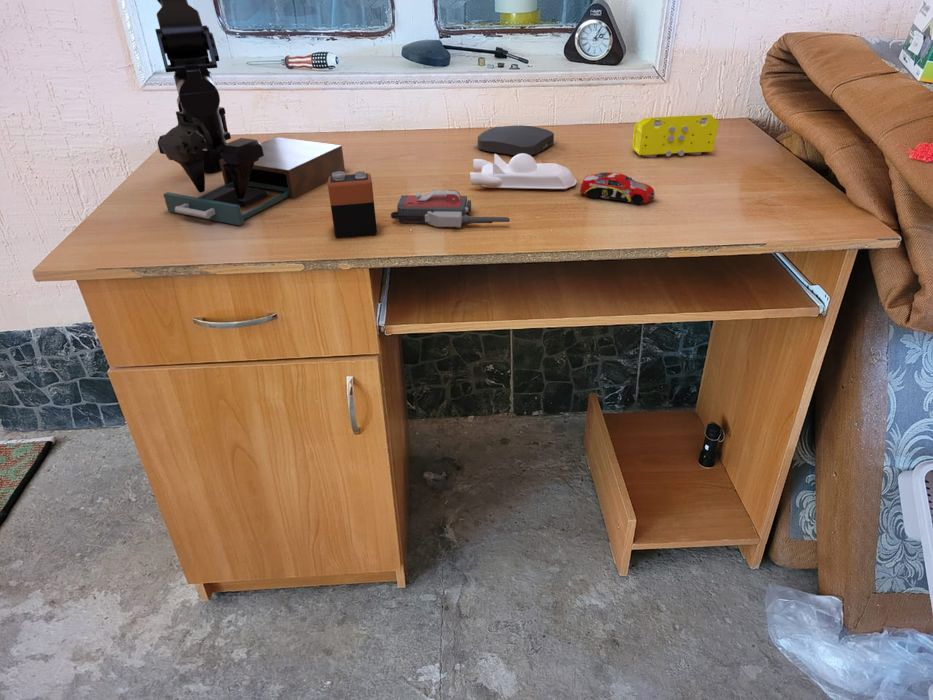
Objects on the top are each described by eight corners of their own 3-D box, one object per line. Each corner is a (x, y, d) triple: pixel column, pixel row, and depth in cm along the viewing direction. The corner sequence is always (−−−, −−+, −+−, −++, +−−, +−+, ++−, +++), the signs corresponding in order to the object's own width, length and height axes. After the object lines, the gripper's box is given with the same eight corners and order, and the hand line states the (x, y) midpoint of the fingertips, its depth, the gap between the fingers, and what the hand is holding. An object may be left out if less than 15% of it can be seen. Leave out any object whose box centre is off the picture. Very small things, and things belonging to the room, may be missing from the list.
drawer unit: (293, 198, 120) (288, 170, 117) (225, 187, 127) (219, 159, 124) (345, 171, 133) (341, 145, 130) (281, 162, 139) (276, 137, 136)
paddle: (198, 213, 115) (194, 196, 113) (245, 192, 124) (241, 175, 122) (222, 218, 113) (218, 200, 111) (268, 196, 122) (264, 179, 120)
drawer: (230, 230, 108) (225, 212, 106) (157, 216, 114) (152, 198, 112) (301, 193, 122) (299, 176, 120) (234, 182, 128) (230, 165, 127)
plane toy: (578, 194, 119) (580, 163, 116) (469, 193, 121) (469, 162, 118) (574, 176, 128) (577, 146, 125) (473, 175, 129) (473, 146, 126)
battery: (335, 229, 108) (326, 170, 103) (376, 225, 109) (369, 166, 103) (335, 239, 104) (326, 178, 99) (377, 235, 105) (371, 175, 100)
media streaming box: (471, 150, 144) (470, 136, 142) (503, 134, 154) (503, 121, 152) (529, 159, 137) (530, 145, 135) (559, 142, 147) (560, 128, 146)
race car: (656, 198, 117) (660, 176, 115) (649, 208, 113) (652, 185, 111) (586, 187, 122) (588, 166, 120) (577, 196, 118) (578, 175, 116)
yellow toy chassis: (639, 159, 136) (644, 118, 131) (630, 151, 140) (635, 111, 136) (713, 155, 137) (720, 115, 132) (702, 148, 141) (709, 108, 137)
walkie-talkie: (388, 229, 108) (509, 230, 106) (386, 203, 105) (509, 204, 104) (397, 209, 115) (510, 210, 113) (395, 185, 112) (511, 185, 111)
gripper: (119, 110, 104) (147, 203, 113) (206, 120, 97) (229, 219, 106) (172, 95, 113) (195, 183, 121) (256, 104, 106) (274, 196, 114)
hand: (221, 195), depth 115 cm, fingers open, 9 cm apart
